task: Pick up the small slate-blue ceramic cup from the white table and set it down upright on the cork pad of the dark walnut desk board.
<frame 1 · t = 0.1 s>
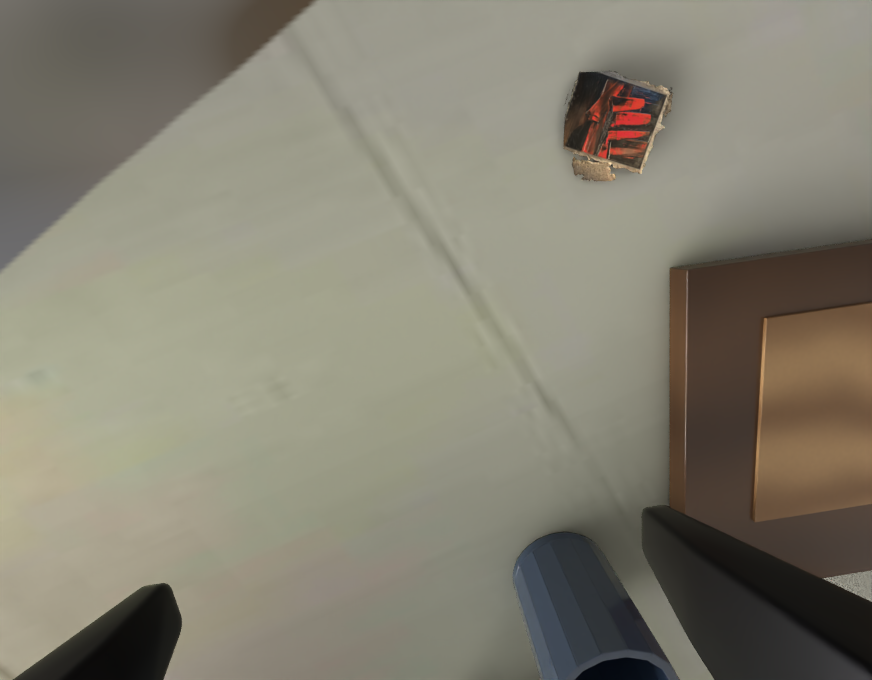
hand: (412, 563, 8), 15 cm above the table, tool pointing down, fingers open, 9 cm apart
cup: (559, 572, 26), on the table
painted stone tile: (607, 130, 20), on the table
desk board: (802, 419, 24), on the table
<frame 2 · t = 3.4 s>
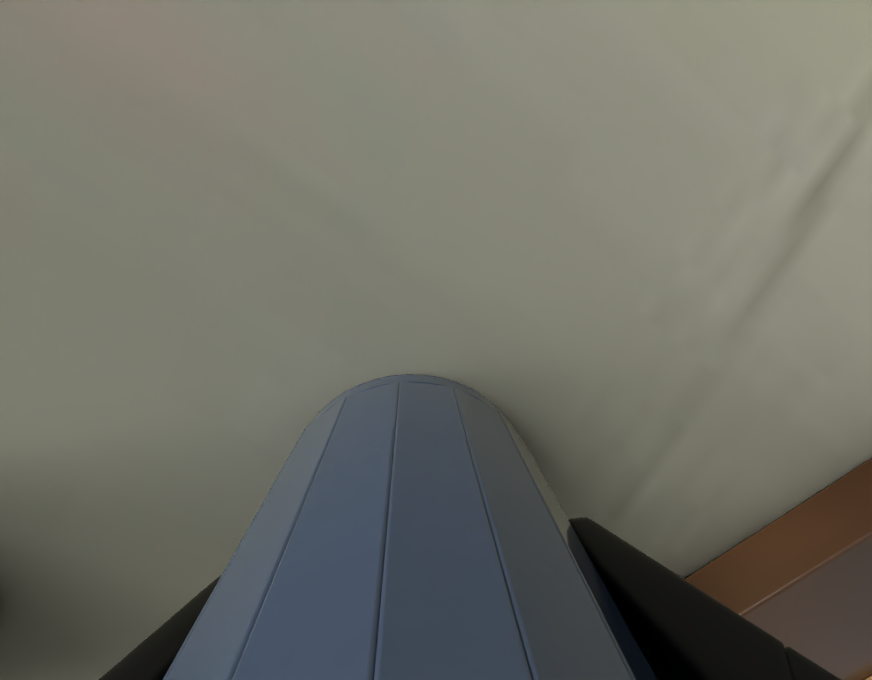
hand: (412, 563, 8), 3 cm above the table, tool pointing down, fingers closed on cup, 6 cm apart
cup: (411, 487, 10), on the table, touching gripper
when the fingers open (4 cm above the table, at t = 9.0 s): cup stays where it is, resting on desk board.
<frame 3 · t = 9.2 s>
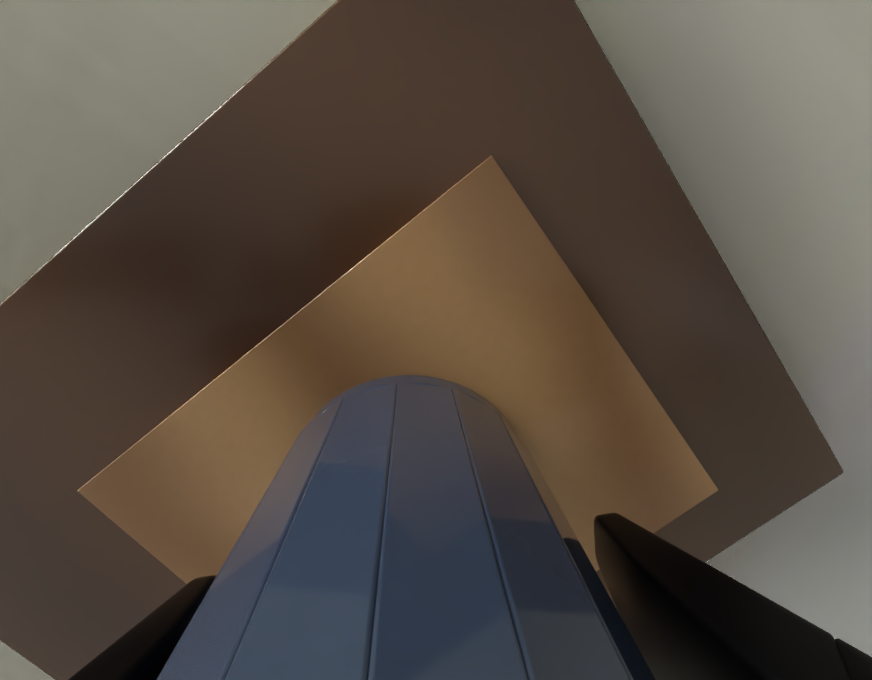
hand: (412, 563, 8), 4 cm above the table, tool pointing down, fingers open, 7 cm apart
cup: (409, 489, 10), point 2 cm above the table, touching desk board
desk board: (363, 451, 12), on the table
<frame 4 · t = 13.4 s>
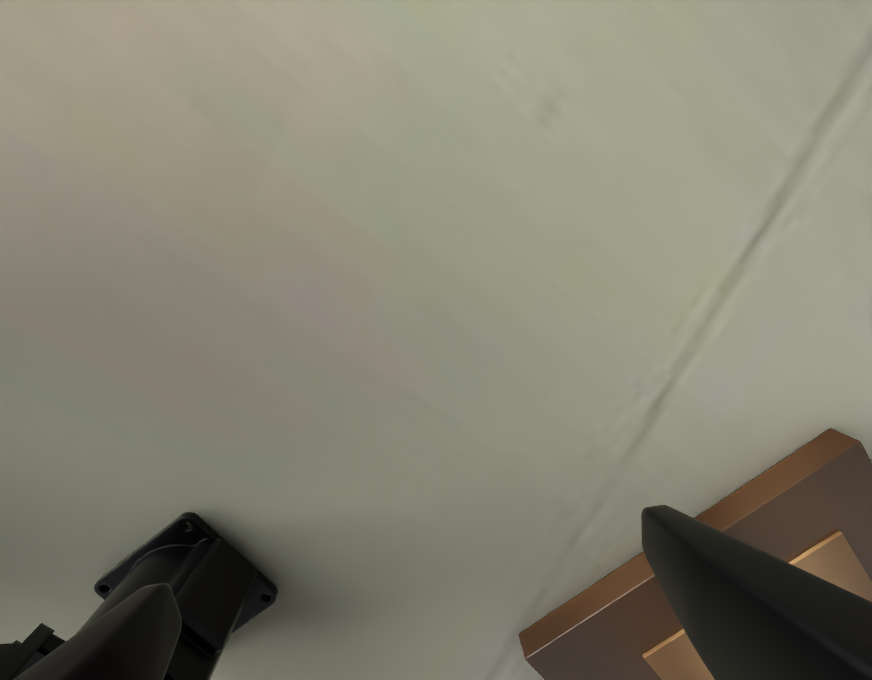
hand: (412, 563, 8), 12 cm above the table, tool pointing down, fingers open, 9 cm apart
desk board: (734, 625, 24), on the table
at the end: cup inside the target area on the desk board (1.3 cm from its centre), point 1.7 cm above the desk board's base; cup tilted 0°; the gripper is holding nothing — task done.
